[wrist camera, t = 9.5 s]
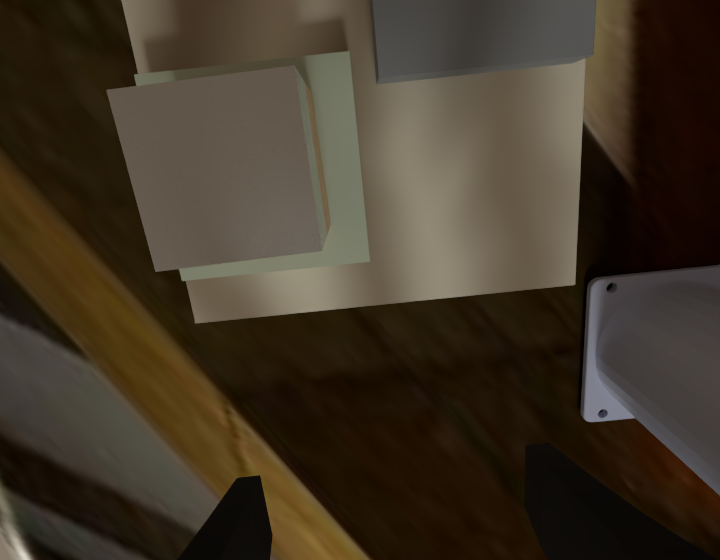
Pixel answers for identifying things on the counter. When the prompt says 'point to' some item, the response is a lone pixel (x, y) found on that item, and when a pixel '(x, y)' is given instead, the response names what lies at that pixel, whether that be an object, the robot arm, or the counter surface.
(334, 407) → the counter surface
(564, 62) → the stand
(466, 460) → the counter surface
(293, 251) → the block
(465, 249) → the board
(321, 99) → the stand
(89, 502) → the counter surface
